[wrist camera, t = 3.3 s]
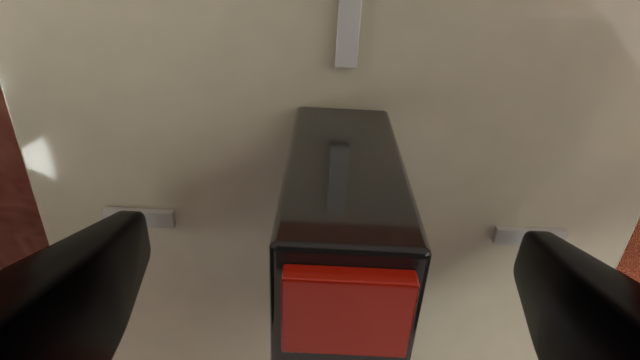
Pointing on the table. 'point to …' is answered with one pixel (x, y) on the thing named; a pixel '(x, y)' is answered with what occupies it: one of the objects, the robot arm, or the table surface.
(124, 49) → the panel
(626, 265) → the table surface
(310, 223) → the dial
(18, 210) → the table surface
